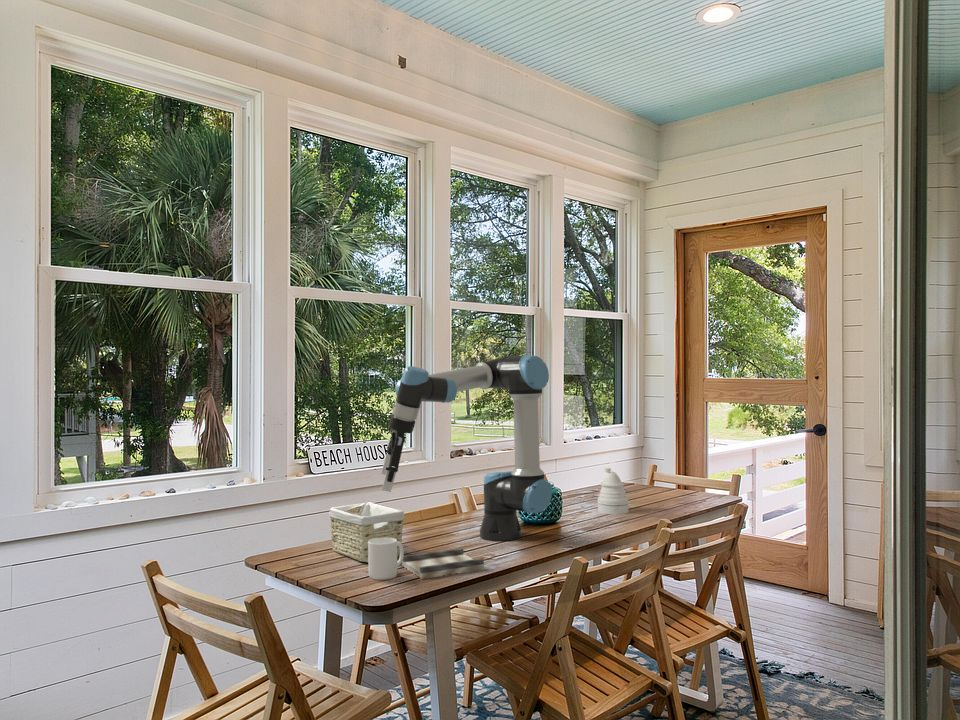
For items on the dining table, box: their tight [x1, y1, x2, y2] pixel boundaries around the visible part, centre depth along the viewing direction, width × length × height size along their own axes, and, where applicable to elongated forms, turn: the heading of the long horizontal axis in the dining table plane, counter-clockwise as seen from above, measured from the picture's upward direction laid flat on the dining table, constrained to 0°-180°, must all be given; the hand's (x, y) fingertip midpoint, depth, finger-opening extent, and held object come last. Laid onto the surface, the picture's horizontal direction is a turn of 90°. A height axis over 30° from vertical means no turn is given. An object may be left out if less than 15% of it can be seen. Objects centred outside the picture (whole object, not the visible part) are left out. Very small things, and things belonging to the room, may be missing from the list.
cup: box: [367, 538, 405, 581], centre depth 202 cm, size 8×12×10 cm
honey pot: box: [597, 467, 629, 515], centre depth 295 cm, size 13×13×18 cm
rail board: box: [401, 548, 485, 580], centre depth 209 cm, size 20×16×3 cm
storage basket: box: [328, 501, 405, 563], centre depth 227 cm, size 24×16×15 cm
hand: (385, 482), depth 212 cm, fingers open, 13 cm apart
